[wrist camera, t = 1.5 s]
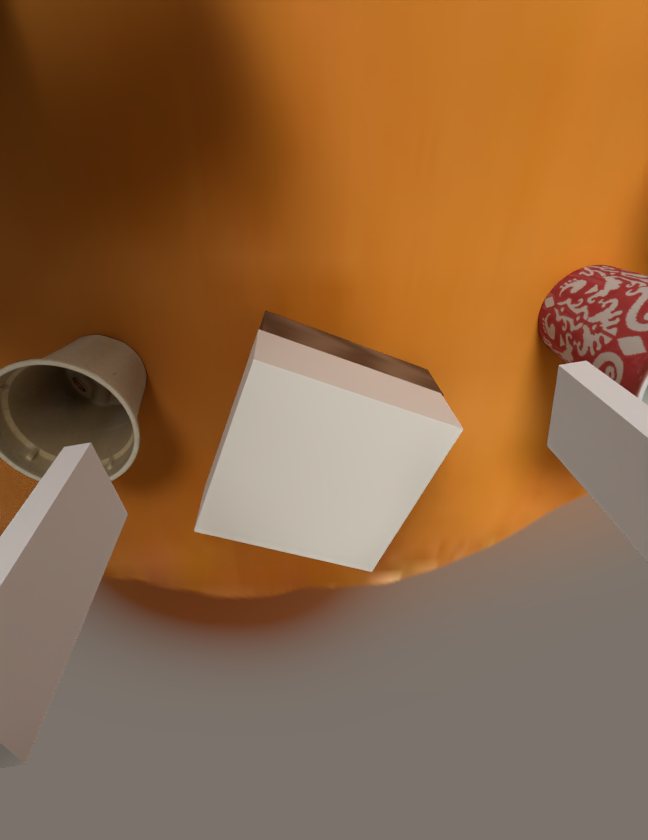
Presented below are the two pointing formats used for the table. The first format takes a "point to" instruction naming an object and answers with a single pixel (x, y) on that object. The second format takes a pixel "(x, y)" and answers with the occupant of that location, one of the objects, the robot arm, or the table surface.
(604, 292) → the mug
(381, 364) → the tower base
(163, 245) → the table surface
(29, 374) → the flower pot
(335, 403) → the tower top
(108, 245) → the table surface
